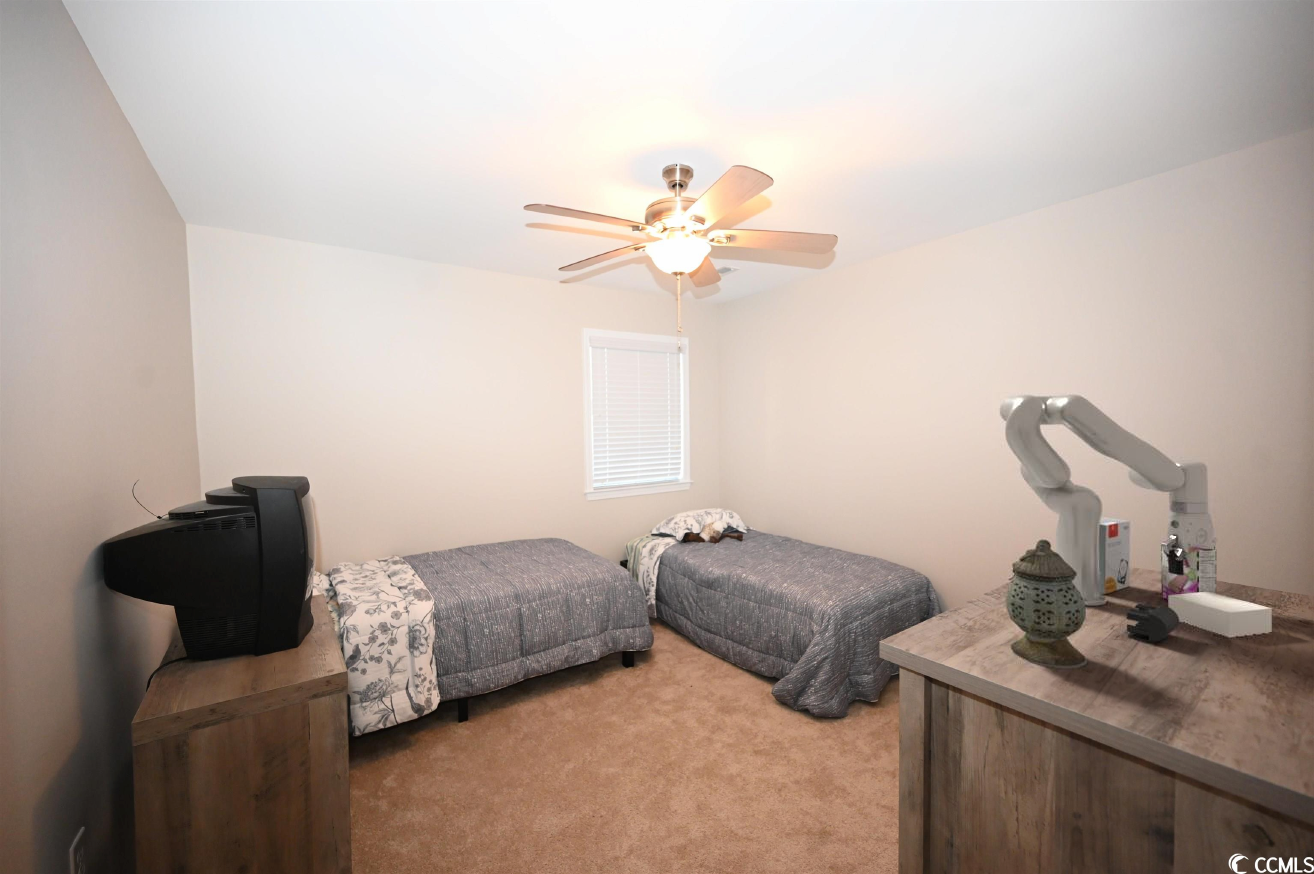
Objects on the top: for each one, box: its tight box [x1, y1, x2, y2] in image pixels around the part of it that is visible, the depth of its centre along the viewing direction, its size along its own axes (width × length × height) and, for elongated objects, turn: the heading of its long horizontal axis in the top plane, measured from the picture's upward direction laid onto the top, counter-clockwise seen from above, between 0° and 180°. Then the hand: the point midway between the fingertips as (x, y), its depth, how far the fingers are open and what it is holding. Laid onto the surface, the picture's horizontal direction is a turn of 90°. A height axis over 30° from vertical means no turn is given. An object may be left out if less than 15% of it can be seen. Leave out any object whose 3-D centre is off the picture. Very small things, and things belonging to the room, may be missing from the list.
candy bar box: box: [1160, 539, 1217, 601], centre depth 149 cm, size 11×5×16 cm, turn 179°
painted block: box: [1167, 592, 1273, 638], centre depth 135 cm, size 12×13×6 cm
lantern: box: [1005, 539, 1088, 670], centre depth 121 cm, size 14×14×25 cm
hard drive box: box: [1099, 516, 1131, 595], centre depth 165 cm, size 16×8×20 cm, turn 119°
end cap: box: [1126, 603, 1180, 644], centre depth 129 cm, size 10×7×7 cm
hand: (1190, 572), depth 148 cm, fingers open, 9 cm apart
